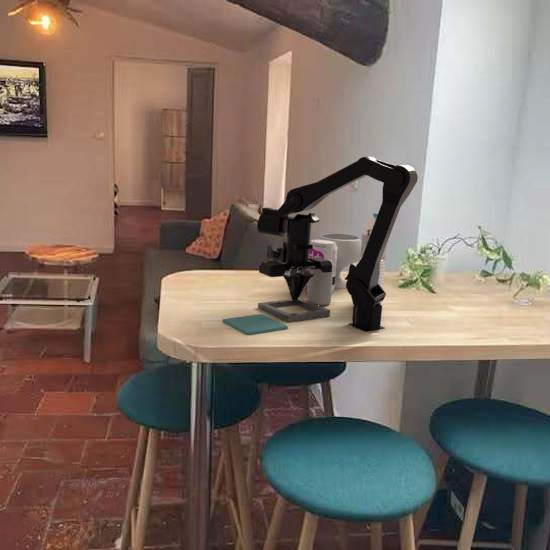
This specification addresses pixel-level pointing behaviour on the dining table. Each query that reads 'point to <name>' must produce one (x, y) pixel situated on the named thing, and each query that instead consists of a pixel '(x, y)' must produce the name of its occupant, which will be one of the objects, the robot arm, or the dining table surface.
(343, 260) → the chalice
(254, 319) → the teal mat
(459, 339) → the dining table surface
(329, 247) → the supplement can
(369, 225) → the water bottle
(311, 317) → the gray square frame
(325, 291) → the beverage can
